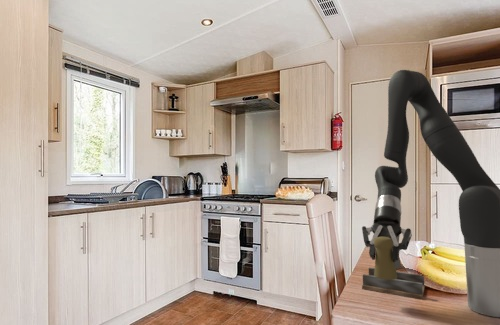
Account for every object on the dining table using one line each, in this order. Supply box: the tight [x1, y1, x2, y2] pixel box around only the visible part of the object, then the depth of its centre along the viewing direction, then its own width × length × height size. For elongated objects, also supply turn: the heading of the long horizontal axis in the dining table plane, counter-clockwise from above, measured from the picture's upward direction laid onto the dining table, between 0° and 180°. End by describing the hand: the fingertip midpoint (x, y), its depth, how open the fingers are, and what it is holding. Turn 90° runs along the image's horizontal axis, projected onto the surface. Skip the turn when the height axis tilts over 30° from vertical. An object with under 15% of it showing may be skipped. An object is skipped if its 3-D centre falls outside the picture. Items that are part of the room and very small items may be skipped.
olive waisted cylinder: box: [374, 237, 397, 280], centre depth 85 cm, size 6×6×11 cm
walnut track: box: [361, 267, 426, 300], centre depth 98 cm, size 17×13×4 cm
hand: (383, 259), depth 83 cm, fingers closed on olive waisted cylinder, 5 cm apart
